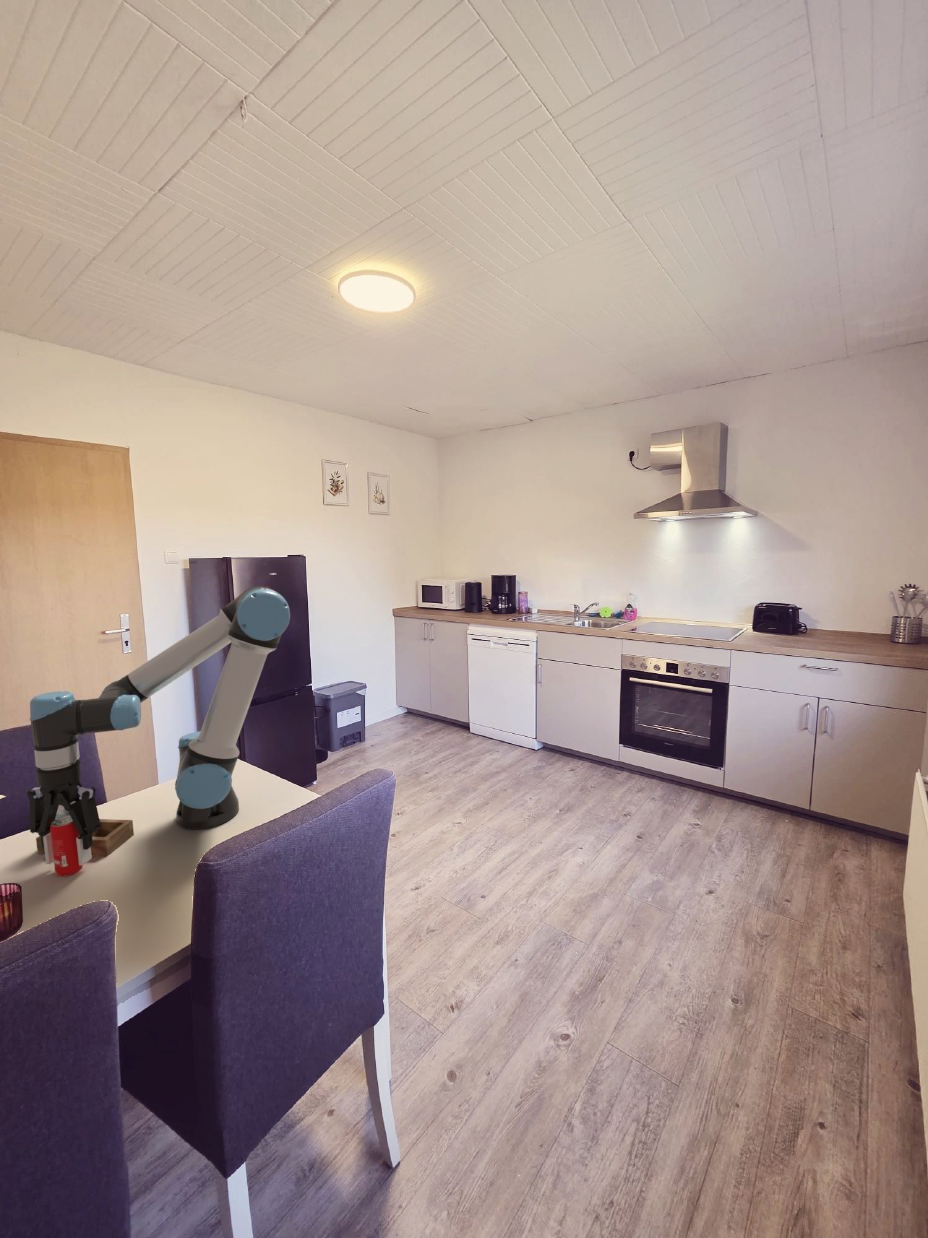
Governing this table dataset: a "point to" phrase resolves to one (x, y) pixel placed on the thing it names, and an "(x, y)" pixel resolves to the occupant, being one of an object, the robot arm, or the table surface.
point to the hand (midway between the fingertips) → (69, 861)
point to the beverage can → (65, 846)
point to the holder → (105, 837)
